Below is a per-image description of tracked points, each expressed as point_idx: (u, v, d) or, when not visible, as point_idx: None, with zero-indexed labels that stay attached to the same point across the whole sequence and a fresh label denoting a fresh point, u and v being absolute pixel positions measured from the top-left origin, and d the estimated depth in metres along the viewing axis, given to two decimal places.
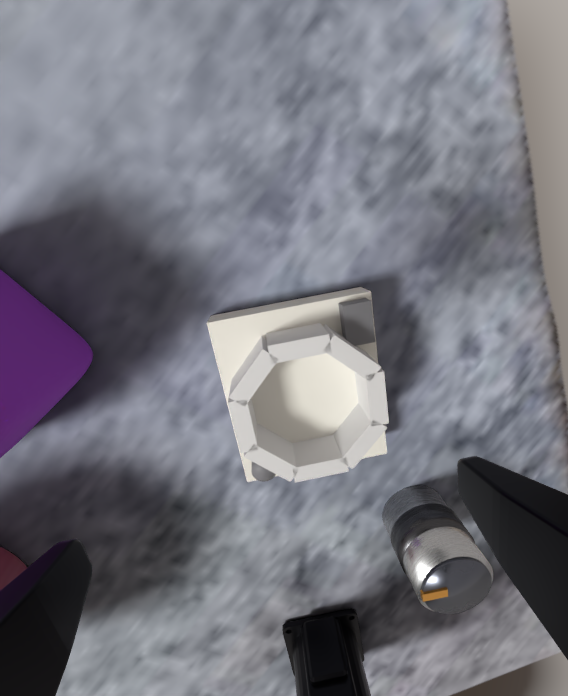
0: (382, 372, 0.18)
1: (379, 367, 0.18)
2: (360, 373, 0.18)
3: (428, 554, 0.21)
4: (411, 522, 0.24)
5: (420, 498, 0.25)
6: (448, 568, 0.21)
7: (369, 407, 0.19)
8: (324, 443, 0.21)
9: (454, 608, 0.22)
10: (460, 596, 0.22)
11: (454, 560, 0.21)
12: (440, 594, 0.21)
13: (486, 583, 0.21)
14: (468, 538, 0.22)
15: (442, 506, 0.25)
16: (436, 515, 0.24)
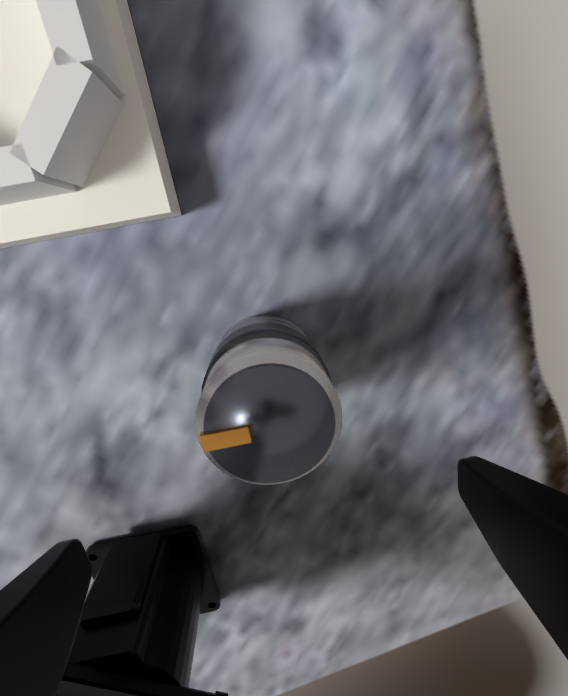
0: None
1: None
2: None
3: (219, 368, 0.12)
4: (224, 343, 0.14)
5: (258, 321, 0.15)
6: (242, 380, 0.11)
7: (42, 14, 0.09)
8: None
9: (272, 471, 0.12)
10: (279, 446, 0.12)
11: (255, 366, 0.11)
12: (236, 437, 0.11)
13: (325, 420, 0.12)
14: (305, 352, 0.12)
15: (286, 326, 0.15)
16: (264, 329, 0.14)
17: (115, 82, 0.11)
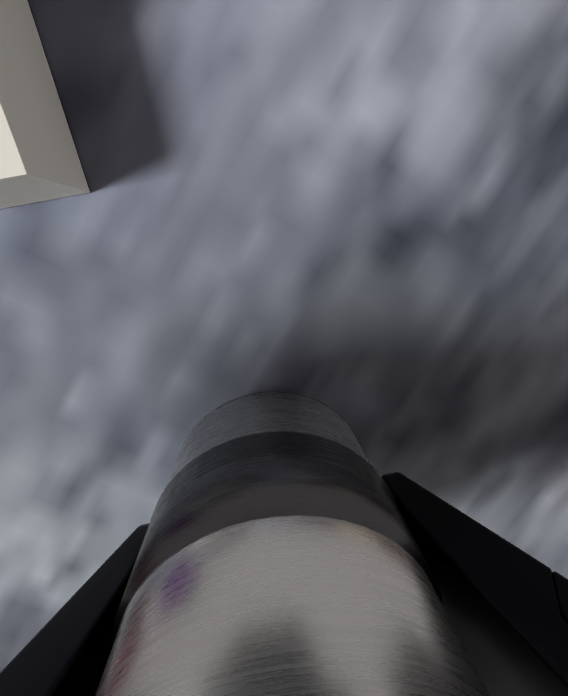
0: None
1: None
2: None
3: (127, 687, 0.03)
4: (177, 500, 0.06)
5: (258, 420, 0.07)
6: None
7: None
8: None
9: None
10: None
11: None
12: None
13: None
14: (398, 576, 0.04)
15: (323, 442, 0.06)
16: (275, 470, 0.05)
17: None
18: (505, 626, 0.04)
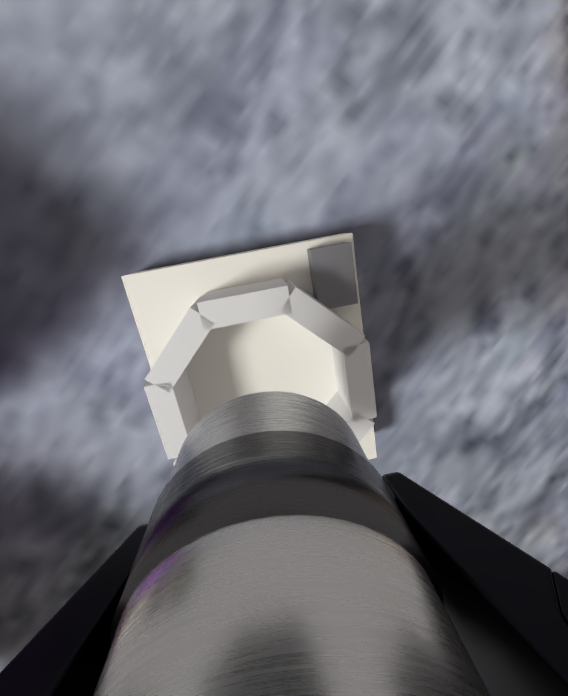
0: (367, 344, 0.13)
1: (362, 336, 0.13)
2: (335, 345, 0.13)
3: (124, 688, 0.03)
4: (176, 499, 0.06)
5: (257, 419, 0.07)
6: None
7: (349, 394, 0.14)
8: None
9: None
10: None
11: None
12: None
13: None
14: (399, 576, 0.04)
15: (323, 441, 0.06)
16: (275, 469, 0.05)
17: None
18: (505, 626, 0.04)
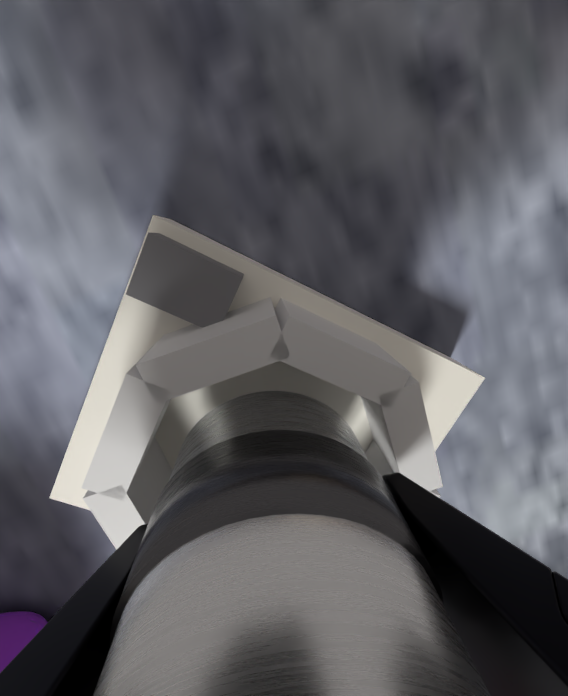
0: (289, 320, 0.07)
1: (272, 320, 0.07)
2: (257, 364, 0.08)
3: (124, 687, 0.03)
4: (176, 499, 0.06)
5: (257, 419, 0.07)
6: None
7: (347, 388, 0.08)
8: None
9: None
10: None
11: None
12: None
13: None
14: (397, 574, 0.04)
15: (322, 440, 0.06)
16: (273, 468, 0.05)
17: (382, 349, 0.10)
18: (505, 626, 0.04)
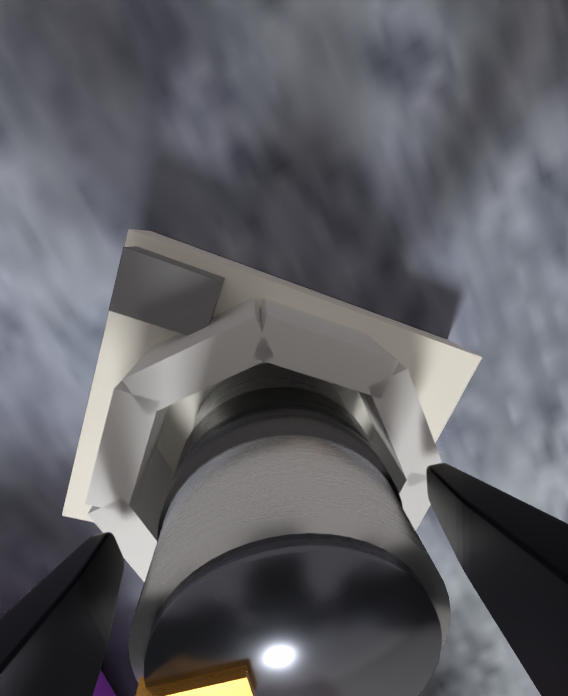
0: (268, 320, 0.07)
1: (252, 321, 0.07)
2: (241, 367, 0.08)
3: (183, 527, 0.05)
4: (203, 434, 0.08)
5: (263, 381, 0.09)
6: (234, 584, 0.04)
7: (335, 382, 0.08)
8: None
9: None
10: None
11: (264, 548, 0.05)
12: None
13: (419, 646, 0.05)
14: (364, 472, 0.06)
15: (315, 395, 0.08)
16: (277, 409, 0.07)
17: (371, 339, 0.10)
18: None
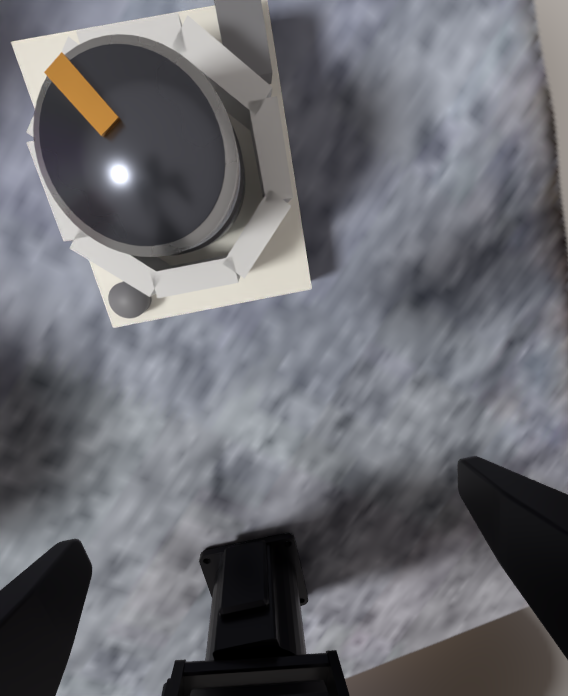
0: (274, 97, 0.12)
1: (268, 87, 0.11)
2: (238, 97, 0.12)
3: None
4: None
5: None
6: (171, 76, 0.08)
7: (260, 167, 0.12)
8: (212, 258, 0.15)
9: (80, 193, 0.09)
10: (118, 181, 0.09)
11: (197, 86, 0.08)
12: (93, 109, 0.08)
13: (185, 217, 0.09)
14: (239, 171, 0.10)
15: None
16: None
17: None
18: None
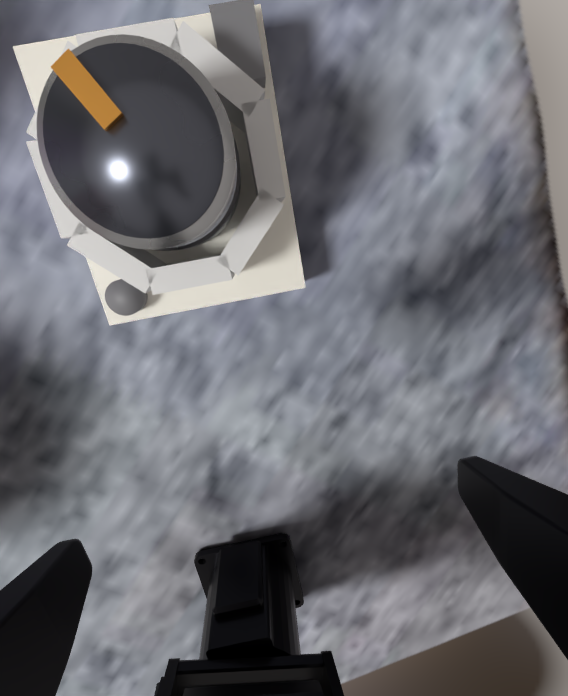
0: (267, 100, 0.12)
1: (261, 90, 0.12)
2: (232, 99, 0.12)
3: None
4: None
5: None
6: (174, 76, 0.08)
7: (253, 167, 0.13)
8: (208, 256, 0.15)
9: (81, 185, 0.09)
10: (119, 174, 0.09)
11: (198, 86, 0.09)
12: (97, 104, 0.08)
13: (183, 211, 0.09)
14: (236, 170, 0.11)
15: None
16: None
17: None
18: None
